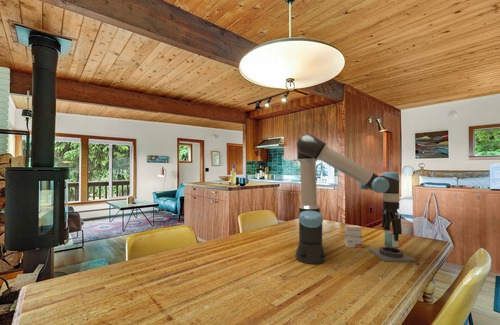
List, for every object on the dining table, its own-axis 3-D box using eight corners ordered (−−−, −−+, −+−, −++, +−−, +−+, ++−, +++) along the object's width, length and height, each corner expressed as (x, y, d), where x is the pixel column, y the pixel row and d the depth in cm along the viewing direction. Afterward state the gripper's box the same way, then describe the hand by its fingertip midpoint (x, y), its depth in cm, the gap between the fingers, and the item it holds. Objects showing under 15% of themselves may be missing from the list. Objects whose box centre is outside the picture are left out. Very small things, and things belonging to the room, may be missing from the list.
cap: (389, 248, 127) (389, 234, 127) (382, 244, 133) (382, 230, 133) (401, 248, 127) (401, 234, 127) (393, 243, 133) (393, 230, 133)
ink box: (358, 245, 147) (358, 225, 147) (361, 247, 142) (361, 227, 142) (344, 244, 148) (344, 224, 148) (346, 247, 143) (346, 226, 143)
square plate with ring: (384, 261, 122) (384, 255, 122) (368, 250, 138) (368, 245, 138) (416, 261, 122) (416, 255, 122) (396, 250, 138) (396, 245, 138)
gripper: (410, 204, 121) (410, 250, 120) (387, 198, 140) (387, 238, 140) (395, 204, 120) (395, 250, 120) (374, 198, 140) (374, 238, 140)
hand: (391, 244), depth 130 cm, fingers closed on cap, 6 cm apart
